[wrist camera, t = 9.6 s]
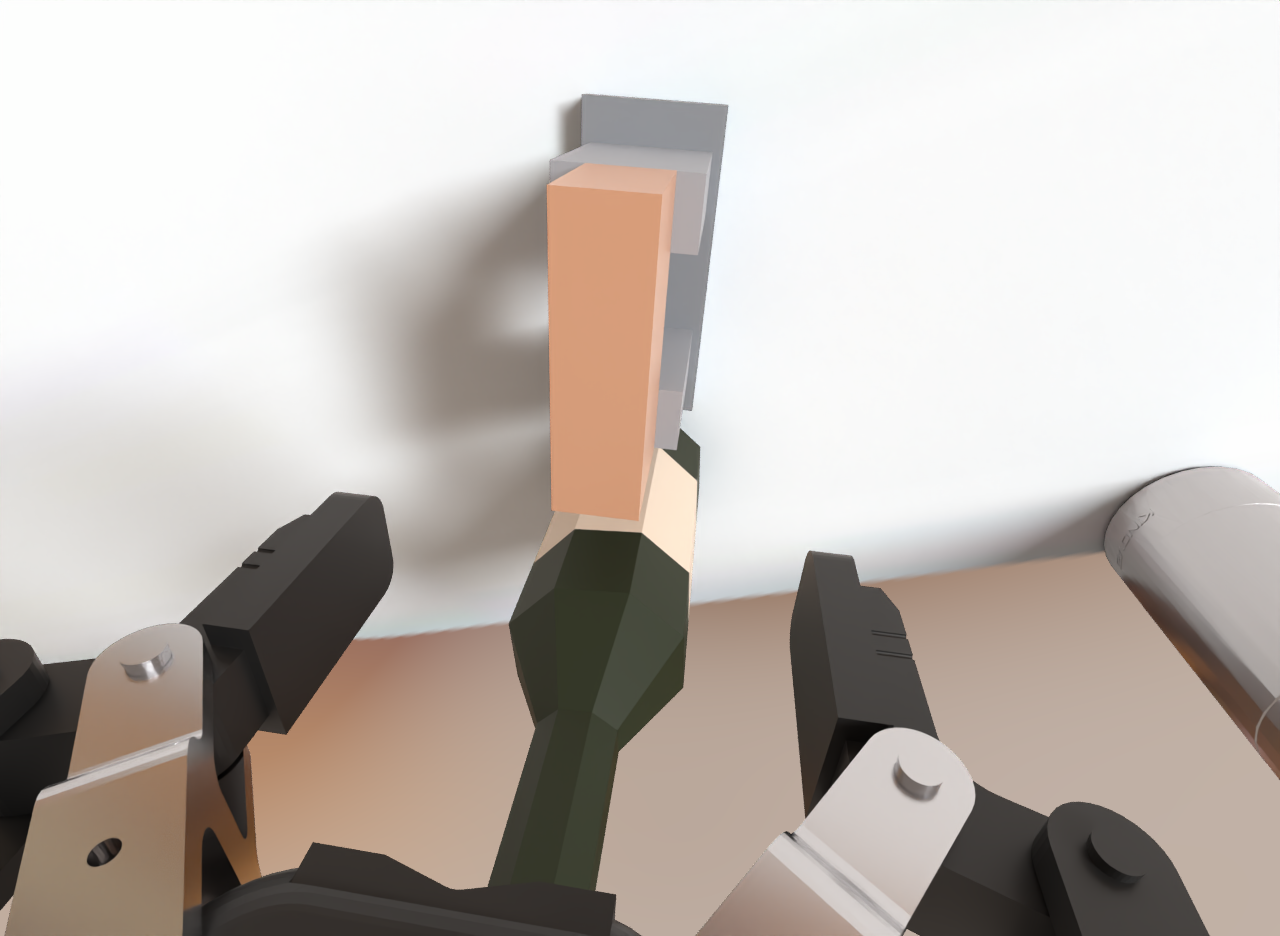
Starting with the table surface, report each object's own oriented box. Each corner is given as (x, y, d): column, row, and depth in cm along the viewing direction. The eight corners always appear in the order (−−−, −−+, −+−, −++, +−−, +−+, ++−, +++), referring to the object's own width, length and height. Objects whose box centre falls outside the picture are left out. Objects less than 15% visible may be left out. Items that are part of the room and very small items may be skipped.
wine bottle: (611, 529, 46) (461, 1092, 20) (558, 432, 42) (295, 968, 17) (722, 497, 43) (709, 1094, 18) (675, 391, 40) (576, 948, 14)
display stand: (728, 105, 32) (727, 113, 23) (693, 400, 40) (682, 486, 31) (587, 93, 32) (535, 98, 24) (582, 387, 40) (542, 470, 32)
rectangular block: (676, 170, 24) (662, 194, 19) (654, 447, 30) (638, 521, 25) (585, 162, 24) (546, 184, 19) (581, 439, 31) (551, 510, 26)
